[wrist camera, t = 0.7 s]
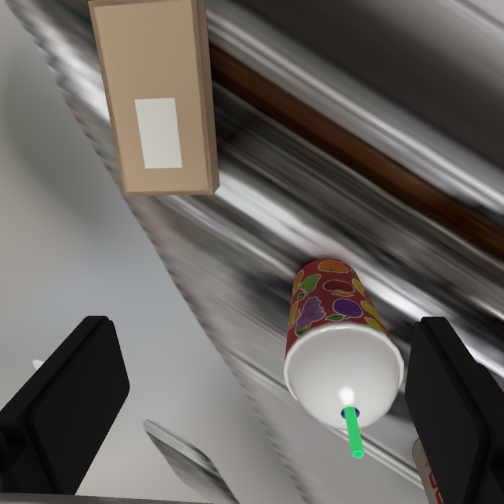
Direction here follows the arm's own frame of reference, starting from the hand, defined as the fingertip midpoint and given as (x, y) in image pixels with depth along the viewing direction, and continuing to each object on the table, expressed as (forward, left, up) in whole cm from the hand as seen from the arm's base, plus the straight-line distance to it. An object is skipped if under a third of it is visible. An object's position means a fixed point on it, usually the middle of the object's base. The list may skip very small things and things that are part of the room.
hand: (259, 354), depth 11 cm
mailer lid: (-7, -9, -22) cm, 24 cm away
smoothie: (+11, +5, -25) cm, 28 cm away
